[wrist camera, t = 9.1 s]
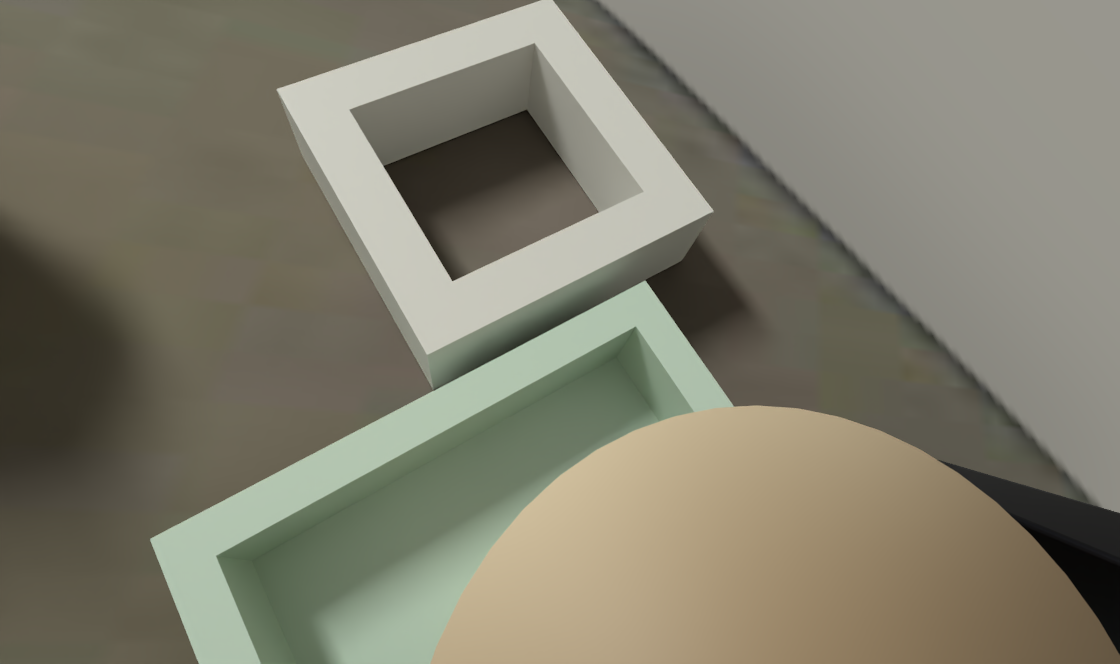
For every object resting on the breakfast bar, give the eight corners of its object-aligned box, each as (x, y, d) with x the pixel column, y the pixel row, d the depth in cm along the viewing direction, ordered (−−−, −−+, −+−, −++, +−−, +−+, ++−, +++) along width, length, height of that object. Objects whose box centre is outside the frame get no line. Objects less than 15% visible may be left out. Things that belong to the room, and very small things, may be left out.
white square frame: (681, 260, 21) (713, 211, 18) (433, 390, 18) (427, 355, 16) (540, 66, 24) (550, -3, 21) (302, 155, 21) (276, 89, 18)
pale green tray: (890, 723, 17) (974, 749, 14) (447, 1131, 13) (441, 1280, 10) (621, 322, 20) (645, 280, 17) (204, 547, 16) (149, 539, 13)
